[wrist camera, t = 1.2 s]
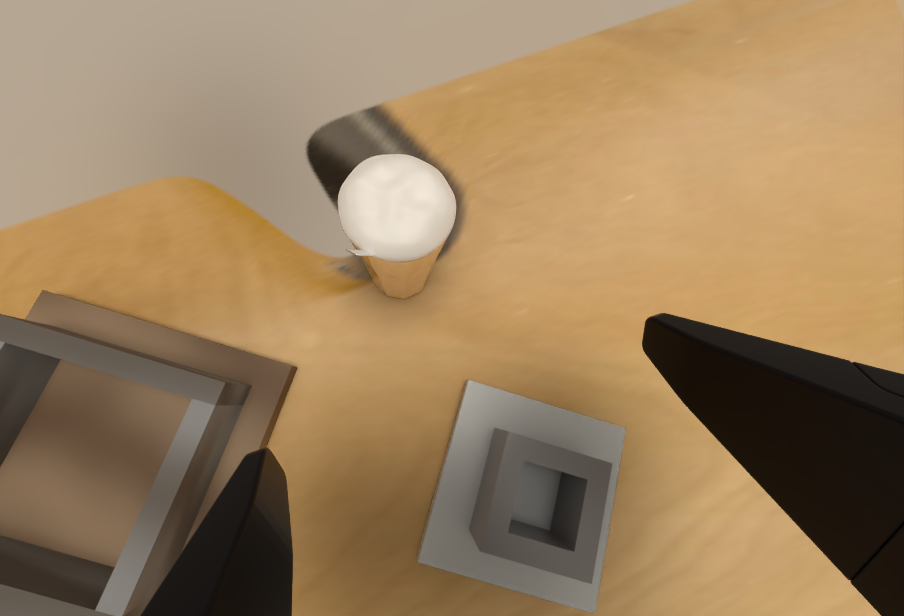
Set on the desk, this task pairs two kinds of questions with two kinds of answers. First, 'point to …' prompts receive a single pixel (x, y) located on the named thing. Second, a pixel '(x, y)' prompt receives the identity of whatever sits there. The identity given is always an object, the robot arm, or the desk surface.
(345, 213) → the milkshake
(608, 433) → the narrow socket
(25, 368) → the wide socket
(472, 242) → the desk surface
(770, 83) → the desk surface
